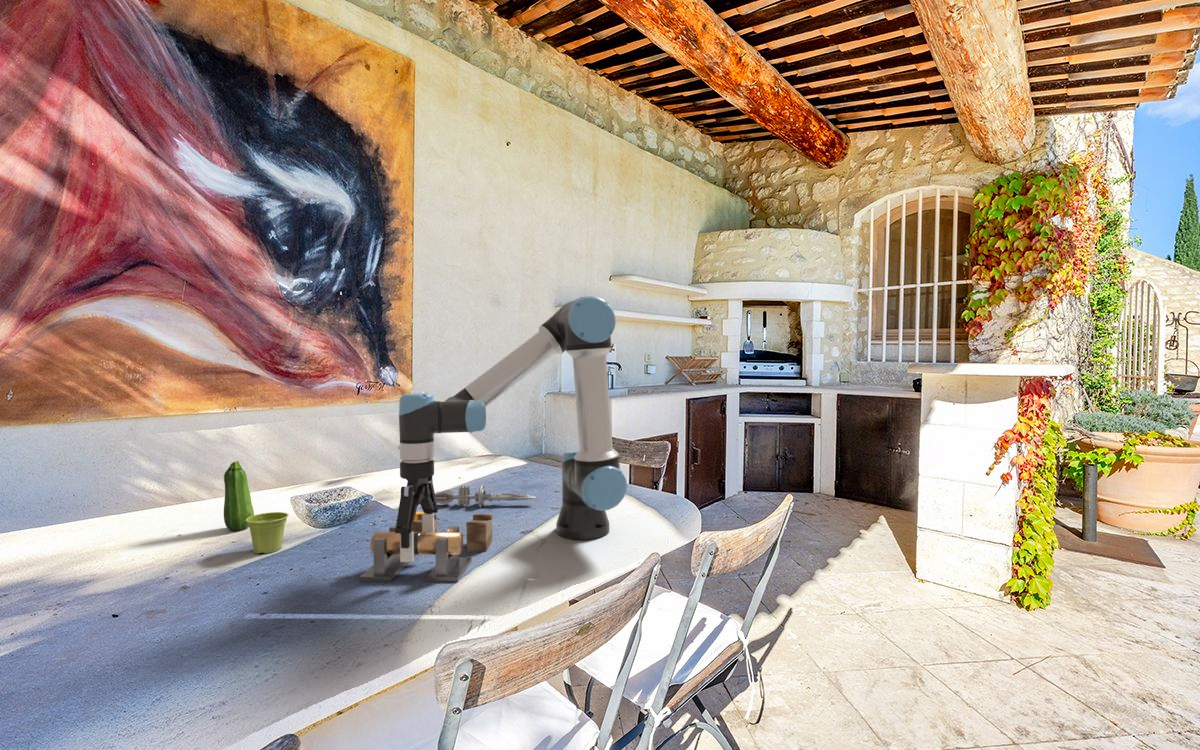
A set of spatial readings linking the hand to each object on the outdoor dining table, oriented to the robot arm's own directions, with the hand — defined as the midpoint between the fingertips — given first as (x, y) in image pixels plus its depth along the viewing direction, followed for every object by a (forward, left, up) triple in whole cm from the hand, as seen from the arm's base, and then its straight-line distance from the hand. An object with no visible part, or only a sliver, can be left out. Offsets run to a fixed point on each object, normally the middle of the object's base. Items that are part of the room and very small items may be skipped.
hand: (418, 550), depth 124 cm
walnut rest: (-3, -16, -5) cm, 17 cm away
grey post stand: (0, 0, -5) cm, 5 cm away
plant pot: (+44, -13, -5) cm, 46 cm away
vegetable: (+63, -29, -5) cm, 70 cm away
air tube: (0, 0, +2) cm, 2 cm away
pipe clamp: (+10, -20, -5) cm, 23 cm away
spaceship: (-3, -52, -5) cm, 52 cm away
